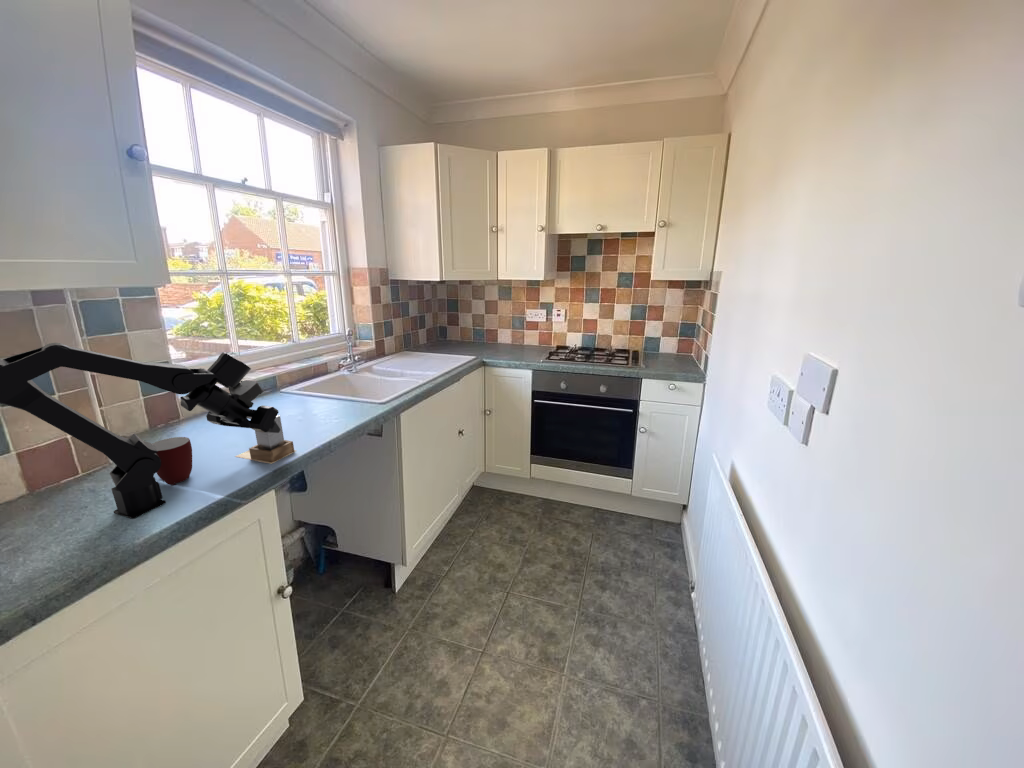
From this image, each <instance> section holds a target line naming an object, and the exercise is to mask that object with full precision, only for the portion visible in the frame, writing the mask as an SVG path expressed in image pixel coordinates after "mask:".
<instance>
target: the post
mask: <svg viewBox="0 0 1024 768" xmlns="http://www.w3.org/2000/svg"><path fill="white" fill-rule="evenodd" d="M275 422H276V423H277V425H278V426H279V428H280V429H281V430H280V432H279V433H270V432H266V433H264V432H258V431H256V430H254V434H255V440H256V445H258V449H263V450H268V451H271V450H273V449H275V448H277V447H279V446H282V445H284V444H285V443H284V440H285V437H284V432H283V425H282V419H281V415H279V414H277V416H276V418H275Z"/></svg>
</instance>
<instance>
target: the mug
mask: <svg viewBox="0 0 1024 768" xmlns="http://www.w3.org/2000/svg"><path fill="white" fill-rule="evenodd" d="M151 444H152V445H153V446H154V447H155V449H156V450H157V451H158V452H157V453H156V454H157V455H158V456H159V458H160V459H161V466H160V469H159V470H158V471H157V472H156V473H155V474H156V475H157V476H158V478H160V479H161V480H162V481H163V482H164V483H165V484H167V485H169V486H177V485H178V484H179V483H182V482H184V481H186V480H187V479H189V478H190V475H191V473H192V471H193V470H192V469H193V448H192V443H191V439H190V438H189V437H185V436H175V437H169V438H165V439H159V440H158V441H155V442H151Z"/></svg>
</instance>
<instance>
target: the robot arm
mask: <svg viewBox="0 0 1024 768" xmlns="http://www.w3.org/2000/svg"><path fill="white" fill-rule="evenodd" d="M58 368H69V369H74V370H79V371H85V372H88V373H89V372H90V373H94V374H100V375H106V376H111V377H116V378H122V379H126V380H133V381H138V382H141V383H144V384H148V385H150V386H153V387H155V388H158V389H161V390H164V391H167V392H169V393H173V394H176V395H184V396H180V406H181V407H182V408H184V409H185V410H186V411H188V412H192V411H193V409H195V408H196V406H199V407H200V408H202V409H204V410H205V411H208V413H207V414H206V416H205V417H206V420H207V422H210V423H211V424H214V425H218V426H224V427H232V428H241V429H242V428H244V429H251V430H253V431H255V430H256V431H258V432H264V433H266V432H270V433H279V432H280V430H281V429H280V428H279V426H278V425H277V423H276V422H275V418H276V416H277V415H279V409H277V408H275V407H274V406H270V405H269V406H268V405H263V404H262V405H259V406H257V408H256V409H252V407H253V406H254V404H255V403H254V402H253V400H255V399H256V398H257V397H258V396H259V395H262V394H263V393H264V390H263V389H262V387H261V386H260V384H259V383H258V382H257V381H258V380H249V379H246V380H243V379H244V378H245V377H246V376H247V374H248V373H249V372H250V371H251V370H252V368H251V367H250V366H248V365H247V364H246V363H244V362H242V361H241V360H238V359H237V358H235V357H233V356H231V355H230V354H228V353H227V352H221V353H220V355H219V356H218V357H217V359H215V361H214V362H213V363H212V364H211V365H210V367H209V368H208V369H206V368H201V367H200V368H188V367H187V366H185V365H182V364H179V363H178V364H177V363H166V362H165V363H164V362H147V361H146V362H144V361H143V362H142V361H139V360H133V359H130V358H124V357H120V356H115V355H111V354H106V353H101V352H98V351H91V350H86V349H83V348H79V347H78V348H77V347H74V346H69V345H66V344H64V343H62V342H50V343H47V344H44V345H43V346H40V347H38V348H36V349H35V348H33V349H31V350H28V351H25V352H21V353H18V354H13V355H11V356H7V357H5V358H2V359H1V358H0V404H1V405H4V406H7V407H12V408H15V409H19V410H21V411H25V412H27V413H29V414H31V415H33V416H34V417H36V418H38V419H40V420H42V421H44V422H45V423H48V424H50V425H51V426H53V427H55V428H56V429H58V430H60V431H62V432H64V433H65V434H67V435H68V436H69V435H70V436H71V437H73V438H74V439H76V440H78V441H80V442H82V443H84V444H85V445H88V446H89V447H91V448H93V449H94V450H97V451H98V452H100V453H101V454H103V455H105V456H106V458H108V459H109V460H110V461H111V462H112V463H113V464H114V465H115V466H114V468H112V470H110V472H109V476H110V477H111V480H112V482H113V484H114V487H112V488H111V492H112V493H111V494H112V497H113V498H114V503H115V505H116V509H114V510H113V512H112V513H113V514H114V515H117V516H120V517H121V516H122V517H125V518H129V519H131V520H133V519H136V518H138V517H141V516H142V515H144V514H146V513H148V512H151V511H153V510H154V509H157V508H159V507H161V506H163V505H165V504H166V503H167V501H166V500H165V499H163V494H162V490H161V486H160V484H159V481H156V478H155V476H154V475H155V474H157V473H156V472H157V471H158V470H159V469H160V466H161V459H160V458H159V456H158V455H157V454H156V453H157V452H158V451H157V450H156V449H155V447H154V446H153V445H152V442H147V441H145V440H143V439H141V437H139V436H138V435H137V434H136V433H132V435H131V436H130V437H129V438H127V437H124V436H120V435H119V434H116V433H115V432H113V431H111V430H109V429H108V428H106V427H104V426H103V425H101V424H99V423H98V422H97V421H95V420H93V419H91V418H89V417H88V416H86V415H84V414H82V413H80V412H78V410H76V409H73V408H72V407H70V405H69V406H68V405H67V404H66V403H64V402H62V401H60V400H59V399H57V398H55V397H54V396H52V395H50V394H48V393H47V392H45V391H44V390H42V388H41V387H40V386H39V385H37V383H35V382H34V379H37V378H38V377H40V376H42V375H44V374H46V373H47V374H48V372H49V373H50V372H51V371H53V370H55V369H58ZM217 384H219V385H221V386H223V387H224V388H226V389H228V391H229V392H228V391H226V390H225V389H223V388H221V387H219V386H218V385H217Z"/></svg>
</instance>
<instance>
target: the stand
mask: <svg viewBox="0 0 1024 768" xmlns="http://www.w3.org/2000/svg"><path fill="white" fill-rule="evenodd" d="M293 441H294V440H287V439H284V443H285V444H284V445H282V446H279V447H277V448H275V449H273V450H271V451H268V450H263V449H258V445H257V444H255V445H254V446H251V447H249V448H248V450H246V451H244V452H242V453H240V454H236V455H235V456H234V457H235V458H241V459H245V460H250V461H255V462H260V463H265V464H270V465H272V464H274V463H276V462H278V461H280V460H282V459H284V458H286V457H289V456H290V455H291V454H293V453H296V452H297V450H295V447H294V442H293Z"/></svg>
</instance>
